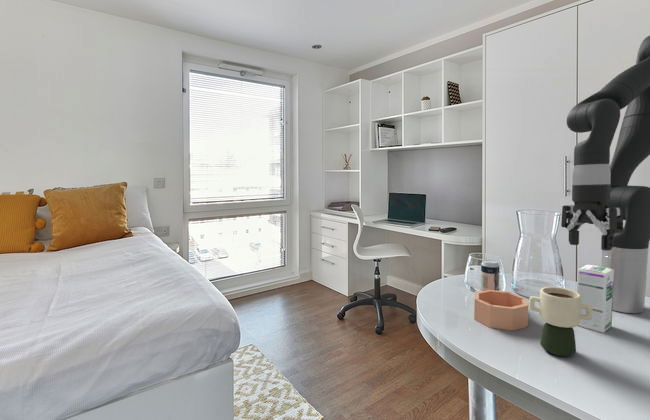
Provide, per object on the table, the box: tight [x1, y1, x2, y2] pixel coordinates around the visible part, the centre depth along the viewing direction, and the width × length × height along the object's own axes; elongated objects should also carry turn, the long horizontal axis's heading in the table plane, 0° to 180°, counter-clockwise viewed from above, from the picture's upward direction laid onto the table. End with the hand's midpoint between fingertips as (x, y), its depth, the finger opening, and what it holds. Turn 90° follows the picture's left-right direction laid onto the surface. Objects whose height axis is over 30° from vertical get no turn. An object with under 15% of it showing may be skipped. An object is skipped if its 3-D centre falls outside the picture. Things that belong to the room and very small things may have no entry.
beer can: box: [480, 259, 500, 291], centre depth 99 cm, size 5×5×12 cm
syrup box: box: [576, 264, 614, 334], centre depth 82 cm, size 6×6×14 cm
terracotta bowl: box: [473, 290, 529, 331], centre depth 88 cm, size 12×12×6 cm
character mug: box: [528, 286, 593, 357], centre depth 71 cm, size 11×7×13 cm, turn 57°
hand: (589, 247), depth 85 cm, fingers open, 8 cm apart
